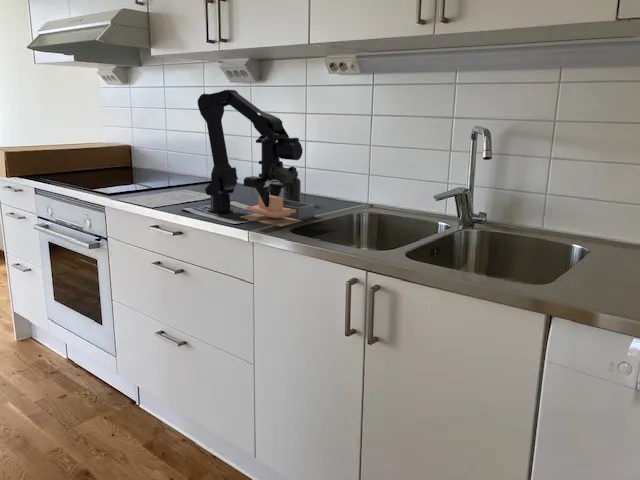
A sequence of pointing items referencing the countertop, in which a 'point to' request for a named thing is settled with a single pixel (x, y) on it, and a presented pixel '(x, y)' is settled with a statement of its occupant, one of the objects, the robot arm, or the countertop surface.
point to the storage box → (299, 209)
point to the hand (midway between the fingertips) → (270, 206)
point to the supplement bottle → (293, 191)
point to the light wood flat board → (271, 219)
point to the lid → (271, 208)
